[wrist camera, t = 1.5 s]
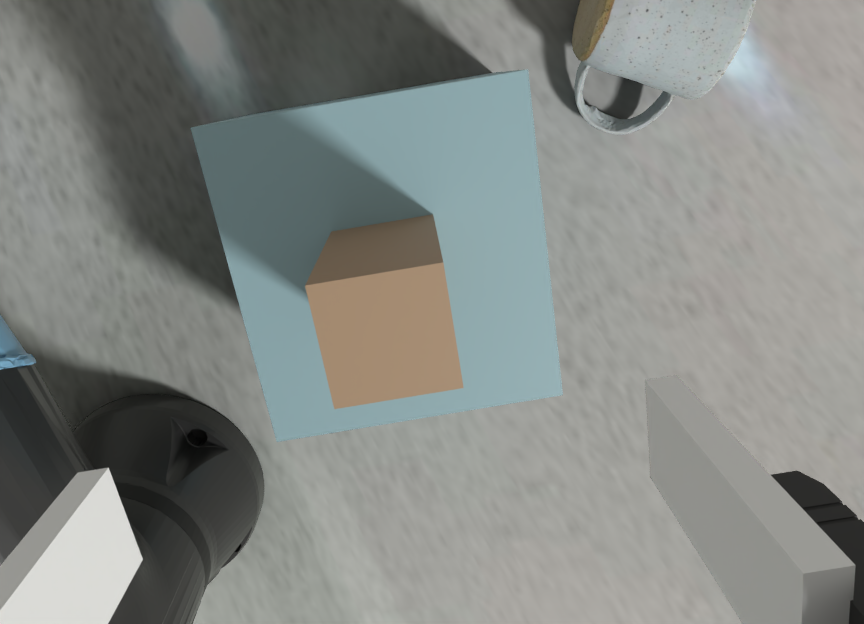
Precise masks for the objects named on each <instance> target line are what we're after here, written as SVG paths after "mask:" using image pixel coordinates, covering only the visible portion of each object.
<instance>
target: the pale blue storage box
mask: <svg viewBox="0 0 864 624" xmlns="http://www.w3.org/2000/svg"><path fill="white" fill-rule="evenodd" d="M191 131H192V135H193V139H194V142H195V146H196V150H197V153H198V157H199V161H200V164H201V168H202V171H203V175H204V179H205V182H206V186H207V190H208V193H209V197H210V201H211V204H212V208H213V211H214V215H215V219H216V222H217V226H218V230H219V233H220V237H221V241H222V244H223V248H224V251H225V255H226V259H227V262H228V266H229V270H230V273H231V277H232V281H233V284H234V288H235V291H236V295H237V299H238V302H239V306H240V310H241V313H242V317H243V321H244V324H245V328H246V331H247V335H248V339H249V342H250V346H251V350H252V353H253V357H254V361H255V364H256V368H257V371H258V375H259V379H260V382H261V386H262V390H263V393H264V397H265V401H266V404H267V408H268V411H269V415H270V419H271V422H272V426H273V430H274V433H275V437H276V441H277V442H279V441H285V440H292V439H298V438H304V437H310V436H316V435H322V434H328V433H334V432H340V431H346V430H353V429H359V428H365V427H371V426H377V425H383V424H389V423H395V422H401V421H407V420H414V419H420V418H426V417H432V416H438V415H444V414H450V413H456V412H462V411H468V410H475V409H481V408H487V407H493V406H499V405H505V404H511V403H517V402H523V401H529V400H536V399H542V398H548V397H554V396H560V395H563V392H562V383H561V373H560V364H559V355H558V345H557V336H556V327H555V317H554V308H553V299H552V289H551V280H550V271H549V261H548V252H547V242H546V233H545V224H544V214H543V205H542V196H541V186H540V177H539V168H538V158H537V149H536V140H535V130H534V121H533V112H532V102H531V93H530V83H529V74H528V70H517V71H507V72H496V73H489V74H483V75H477V76H471V77H465V78H460V79H454V80H448V81H442V82H436V83H431V84H425V85H419V86H413V87H407V88H401V89H396V90H390V91H384V92H378V93H372V94H367V95H361V96H355V97H349V98H343V99H338V100H332V101H326V102H320V103H314V104H309V105H303V106H297V107H291V108H285V109H280V110H274V111H268V112H262V113H256V114H251V115H246V116H242V117H237V118H232V119H228V120H223V121H219V122H214V123H209V124H205V125H200V126H196V127H191Z"/></svg>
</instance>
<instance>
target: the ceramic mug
mask: <svg viewBox="0 0 864 624" xmlns="http://www.w3.org/2000/svg"><path fill="white" fill-rule="evenodd" d="M755 3H756V0H580V3H579V7H578V10H577V15H576V19H575V23H574V28H573V36H572V47H573V51H574V53H575V55H576V57H577V58H578V59H579V60H581V63H580V65H579V67H578V70H577V73H576V80H575V100H576V104H577V107H578V110H579V112H580V114H581V115H582V117H583V118H584V119H585V121H586V122H587V123H589V124H590V125H591V126H593V127H594V128H596V129H598V130H601V131H604V132H606V133H610V134H617V135H624V134H629V133H633V132H635V131H638V130H640V129H642V128H644V127H646V126H647V125H648V124H650V123H652V122H653V121H654V120H655V119H656V118H657V117H659V116H660V115H661V114H662V112H663V111H664V110H665V109H666V108H667V107H668V105H669V104H670V103H671V101H672V100H673V99H674V97H675V96H680V97H683V98H686V99H690V100H693V99H698V98H700V97H702V96H703V95H705V94H706V93H707V92H708V91H709V90H711V89H712V88H713V86H714V85H715V84H716V83H717V82H718V81H719V79H720V78H721V77H722V75H723V74H724V73H725V71H726V69H727V67H728V66H729V64H730V63H731V61H732V60H733V58H734V56H735V54H736V52H737V51H738V49H739V47H740V44H741V42H742V40H743V38H744V35H745V33H746V31H747V28H748V25H749V23H750V19H751V16H752V12H753V9H754V6H755ZM590 67H593V68H595V69H598V70H600V71H603V72H606V73H609V74H613V75H616V76H620V77H624V78H627V79H630V80H633V81H637V82H639V83H642V84H644V85H647V86H650V87H652V88H656V89H659V90H662V91H663V92H662V94H661V95H660V97H659V98H658V99H657V100H656V101H655V102H654V103H653V104H652V105H651V106H650V107H649V108H648V109H647V110H646V111H645V112H643V113H642V114H640V115H638V116H637V117H634V118H631V119H617V118H615V117H612V116H610V115H607V114H604V113H602V112H600V111H599V110H597V108H596V107H595V106H588V105H586V104H585V102H584V100H583V94H582V90H583V86H584V81H585V77H586V75H587V72H588V70H589V68H590Z"/></svg>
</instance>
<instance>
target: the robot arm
mask: <svg viewBox="0 0 864 624" xmlns="http://www.w3.org/2000/svg"><path fill="white" fill-rule="evenodd" d="M34 363H36V360H35V358H34V357H33V355H32V354H28V353H26V351H25V350H24V348H23V347H22V346H21V344H20V343H19V341H18V340H17V338H16V337H15V335H14V334H13V333H12V331H11V330H10V328H9V327H8V325H7V324H6V322H5V321H4V319H3V318H2V316H1V315H0V624H193V621H194V618H195V616H196V613H197V610H198V607H199V605H200V602H201V599H202V597H203V594H204V592H205V589H206V587H207V585H208V584H209V583H210V582H211V581H212V580H213V579H214V578H215V577H216V575H217V574H218V573H219V571H220V569H221V568H222V567H224V566H225V565H227V564H228V563H229V562H230V561H231V560H232V559H233V558H234V557H235V556H236V555H237V554H238V553H239V552H240V551H241V550H242V549H243V547H244V546H245V545H246V543H247V541H248V540H249V538H250V536H251V534H252V532H253V530H254V528H255V525H256V522H257V519H258V516H259V514H260V511H261V507H262V503H263V498H264V478H263V472H262V468H261V465H260V462H259V460H258V457H257V455H256V453H255V451H254V449H253V448H252V446H251V444H250V443H249V441H248V440H247V439H246V437H245V436H244V435H243V434H242V433H241V432H240V431H239V430H238V429H237V428H236V427H235V426H234V425H233V424H232V423H231V422H230V421H228V420H227V419H226V418H225V417H223V416H222V415H220V414H219V413H217V412H215V411H214V410H212V409H210V408H208V407H206V406H204V405H202V404H199V403H197V402H194V401H191V400H188V399H184V398H180V397H175V396H169V395H159V394H147V395H137V396H131V397H126V398H122V399H119V400H116V401H113V402H111V403H109V404H106V405H104V406H103V407H101V408H99V409H97V410H96V411H94V412H93V413H92V414H90V415H89V416H88V417H87V418H86V419H85V420H84V421H83V422H82V423H81V424H80V425H79V426H78V427H77V428H76V429H75V430H74V431H73V432H72V430H71V428H70V427H69V425H68V423H67V422H66V420H65V418H64V417H63V415H62V413H61V411H60V409H59V408H58V406H57V404H56V402H55V401H54V399H53V397H52V395H51V394H50V392H49V390H48V388H47V386H46V385H45V383H44V381H43V379H42V378H41V376H40V374H39V372H38V371H37V369H36V367H35V365H34ZM645 390H646V408H647V426H648V443H649V461H650V478H651V479H652V481H653V482H654V484H655V485H656V487H657V489H658V490H659V492H660V493H661V495H662V497H663V498H664V500H665V501H666V503H667V504H668V506H669V508H670V509H671V511H672V512H673V514H674V516H675V517H676V519H677V520H678V522H679V524H680V525H681V527H682V528H683V530H684V531H685V533H686V535H687V536H688V538H689V539H690V541H691V543H692V544H693V546H694V547H695V549H696V550H697V552H698V554H699V555H700V557H701V558H702V560H703V562H704V563H705V565H706V566H707V568H708V569H709V571H710V573H711V574H712V576H713V577H714V579H715V581H716V582H717V584H718V585H719V587H720V589H721V590H722V592H723V593H724V595H725V596H726V598H727V600H728V601H729V603H730V604H731V606H732V608H733V609H734V611H735V612H736V614H737V615H738V617H739V619H740V620H741V622H742V623H743V624H864V522H863V521H862V520H861V519H860V520H858V518H857V515H856V514H854V513H853V512H852V511H851V510H850V509H849V508H848V507H847V506H846V505H843V504H842V501H841V500H840V499H839V498H838V497H837V496H836V495H835V494H833V493H832V492H831V491H830V490H829V489H828V488H827V487H826V486H825V485H824V484H822V483H820V482H819V481H817V480H815V479H813V478H811V477H809V476H807V475H805V474H803V473H801V472H799V471H792V472H786V473H780V474H773V475H770V474H769V473H768V472H767V471H766V470H765V468H764V467H763V466H762V465H761V464H760V463H759V462H758V461H757V460H756V459H755V458H754V457H753V456H752V455H751V454H750V452H749V451H748V450H747V449H746V448H745V447H744V446H743V445H742V444H741V443H740V442H739V441H738V440H737V439H736V438H735V437H734V435H733V434H732V433H731V432H730V431H729V430H728V429H727V428H726V427H725V426H724V425H723V424H722V423H721V422H720V421H719V420H718V418H717V417H716V416H715V415H714V414H713V413H712V412H711V411H710V410H709V409H708V408H707V407H706V406H705V405H704V404H703V403H702V401H701V400H700V399H699V398H698V397H697V396H696V395H695V394H694V393H693V392H692V391H691V390H690V389H689V388H688V387H687V386H686V384H685V383H684V382H683V381H682V380H681V379H680V378H679V377H678V376H677V375H673V376H667V377H661V378H654V379H648V380H645Z"/></svg>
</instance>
